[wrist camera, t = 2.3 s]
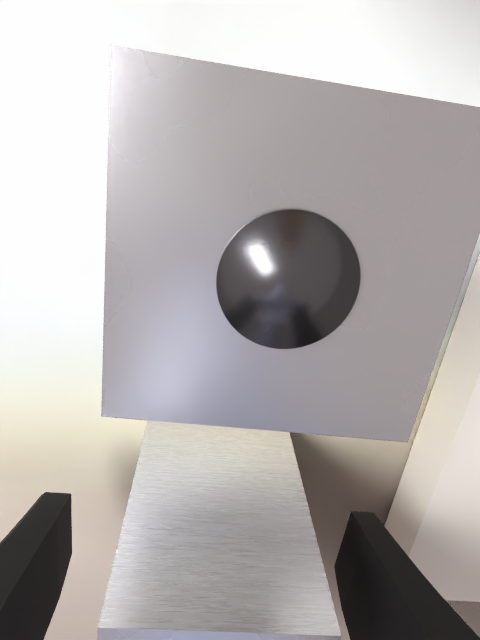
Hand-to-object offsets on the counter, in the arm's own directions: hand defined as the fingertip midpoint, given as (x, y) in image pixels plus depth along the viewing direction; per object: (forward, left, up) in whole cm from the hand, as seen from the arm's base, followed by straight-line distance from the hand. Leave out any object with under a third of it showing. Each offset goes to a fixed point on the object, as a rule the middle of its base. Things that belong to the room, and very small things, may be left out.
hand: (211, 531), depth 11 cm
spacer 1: (+8, 0, -2) cm, 8 cm away
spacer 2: (0, 0, -2) cm, 2 cm away
